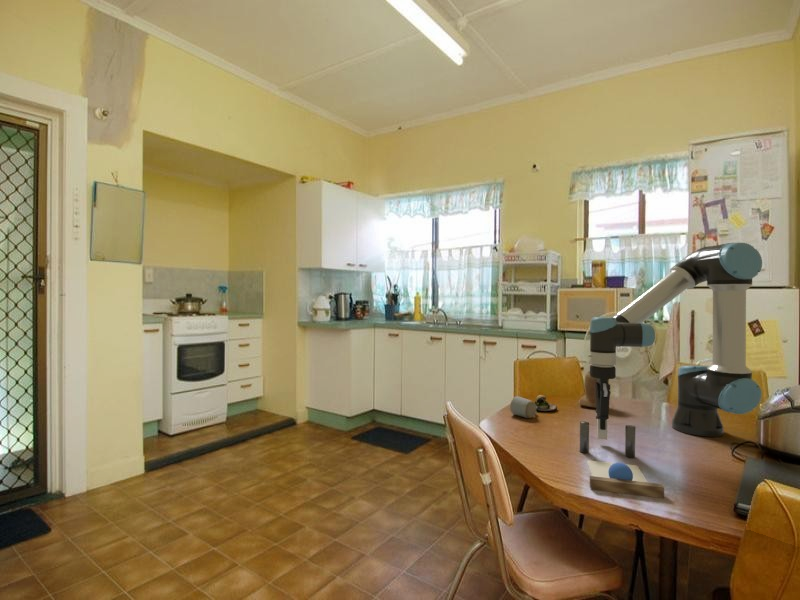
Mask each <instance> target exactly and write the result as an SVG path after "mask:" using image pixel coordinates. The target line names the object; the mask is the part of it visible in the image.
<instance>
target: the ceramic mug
mask: <svg viewBox="0 0 800 600" xmlns="http://www.w3.org/2000/svg"><path fill="white" fill-rule="evenodd" d="M534 402H535V401H532V400H530V399H527V398H524V397H522V396H519V395H517V396H514V397H512V400H511V402H510V407H509V408H510V412H511V414H512V415H514V416H518V417H523V418H526V419H531V418H533V417H534V416H536V415H537V414H538V413H537V412H538V410H536V405H535V403H534Z"/></svg>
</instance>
